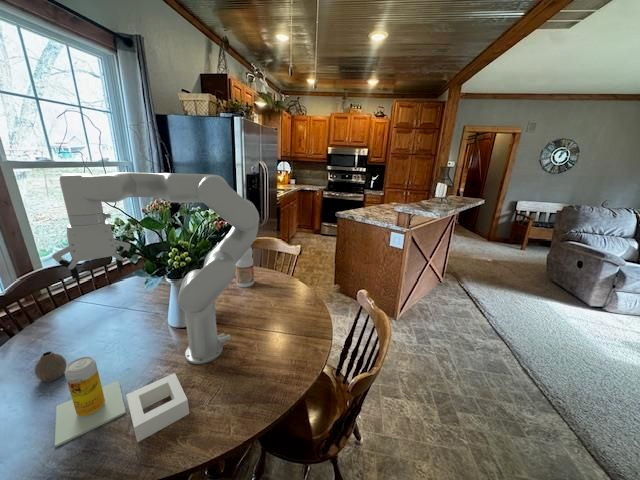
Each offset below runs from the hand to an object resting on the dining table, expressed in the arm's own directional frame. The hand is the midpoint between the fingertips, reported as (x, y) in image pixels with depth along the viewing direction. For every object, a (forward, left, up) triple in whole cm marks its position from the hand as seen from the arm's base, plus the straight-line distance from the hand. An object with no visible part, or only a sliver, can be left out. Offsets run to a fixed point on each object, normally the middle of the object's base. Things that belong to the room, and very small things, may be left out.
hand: (99, 275), depth 79 cm
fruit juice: (-61, -31, -34) cm, 76 cm away
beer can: (+8, +14, -33) cm, 37 cm away
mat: (+8, +14, -33) cm, 37 cm away
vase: (+16, -8, -34) cm, 38 cm away
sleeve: (-6, +26, -33) cm, 43 cm away
